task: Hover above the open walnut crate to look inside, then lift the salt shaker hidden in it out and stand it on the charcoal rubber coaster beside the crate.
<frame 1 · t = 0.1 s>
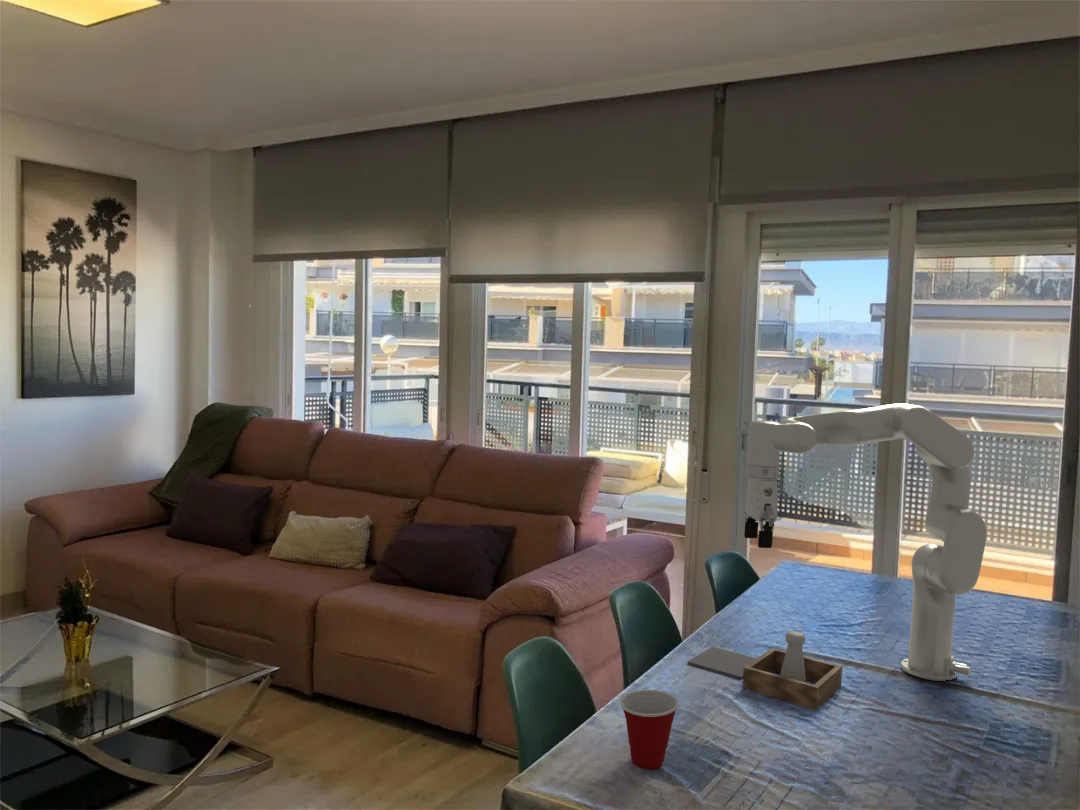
hand: (757, 542, 205), 31 cm above the table, tool pointing down, fingers open, 9 cm apart
coaster: (726, 663, 210), on the table
crate: (792, 687, 197), on the table
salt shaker: (792, 688, 197), resting in crate
plastic cup: (645, 763, 159), on the table
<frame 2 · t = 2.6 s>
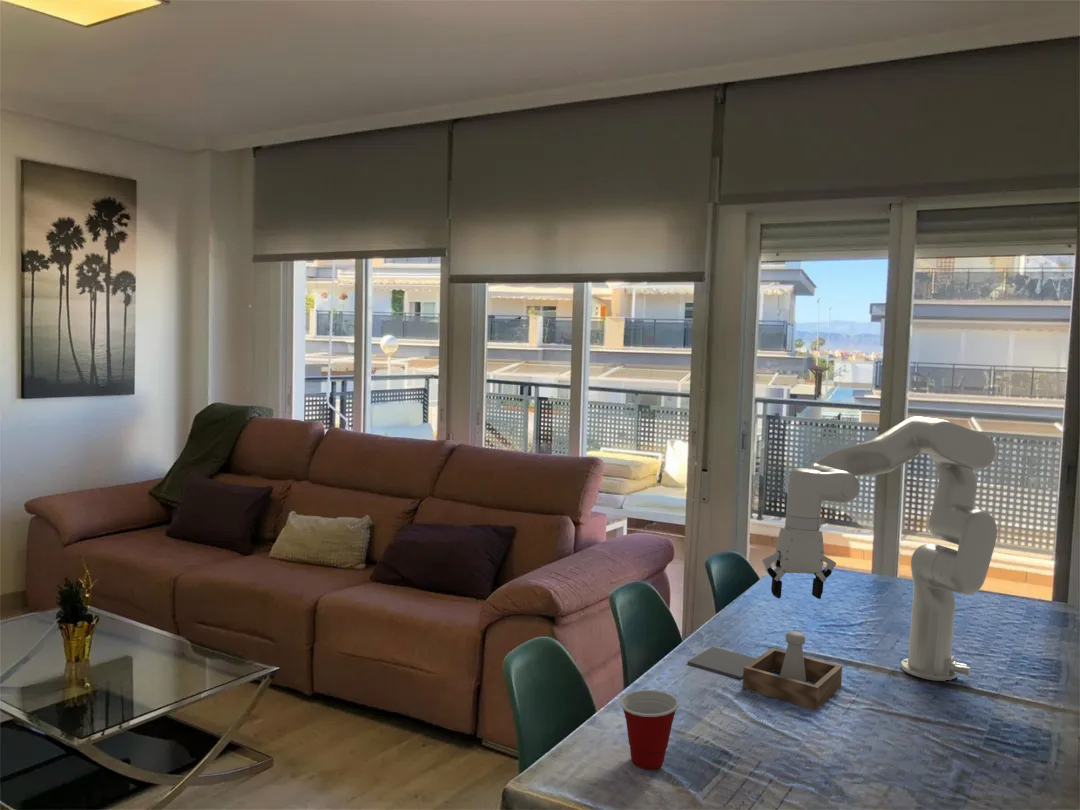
hand: (796, 596, 195), 21 cm above the table, tool pointing down, fingers open, 9 cm apart
nothing on the table moved.
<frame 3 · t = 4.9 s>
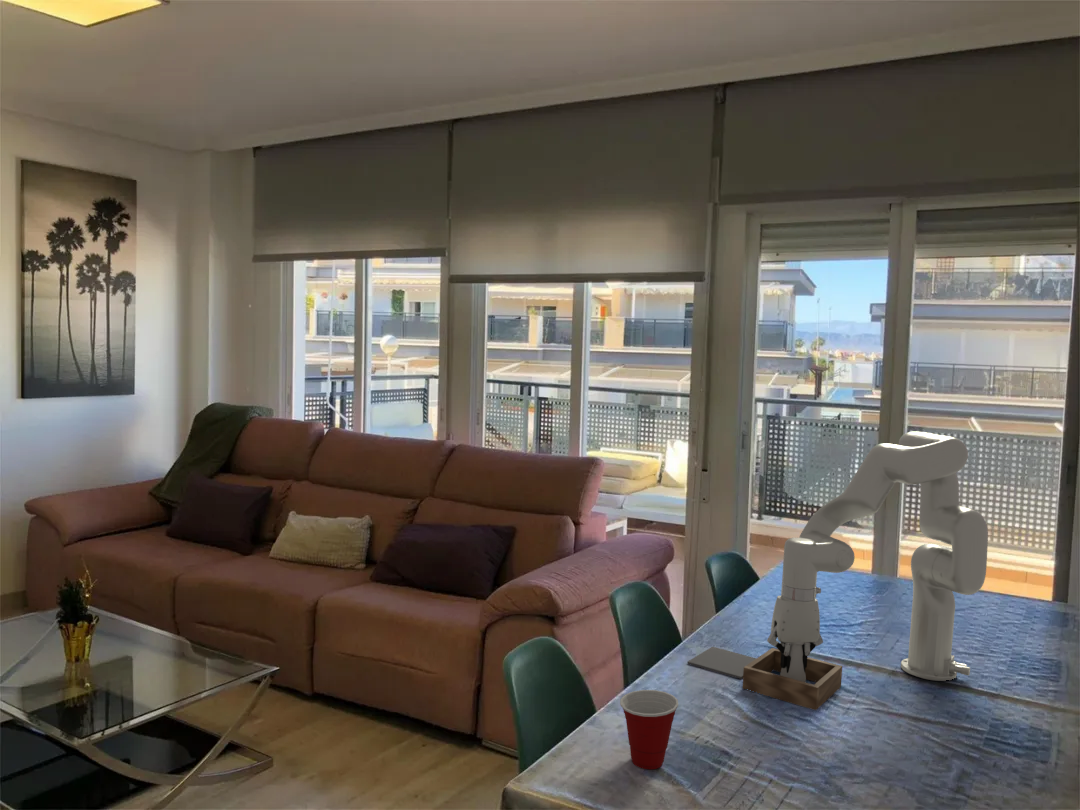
hand: (793, 670, 196), 4 cm above the table, tool pointing down, fingers closed on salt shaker, 3 cm apart
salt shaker: (792, 688, 197), resting in crate, touching gripper
everything else where it was.
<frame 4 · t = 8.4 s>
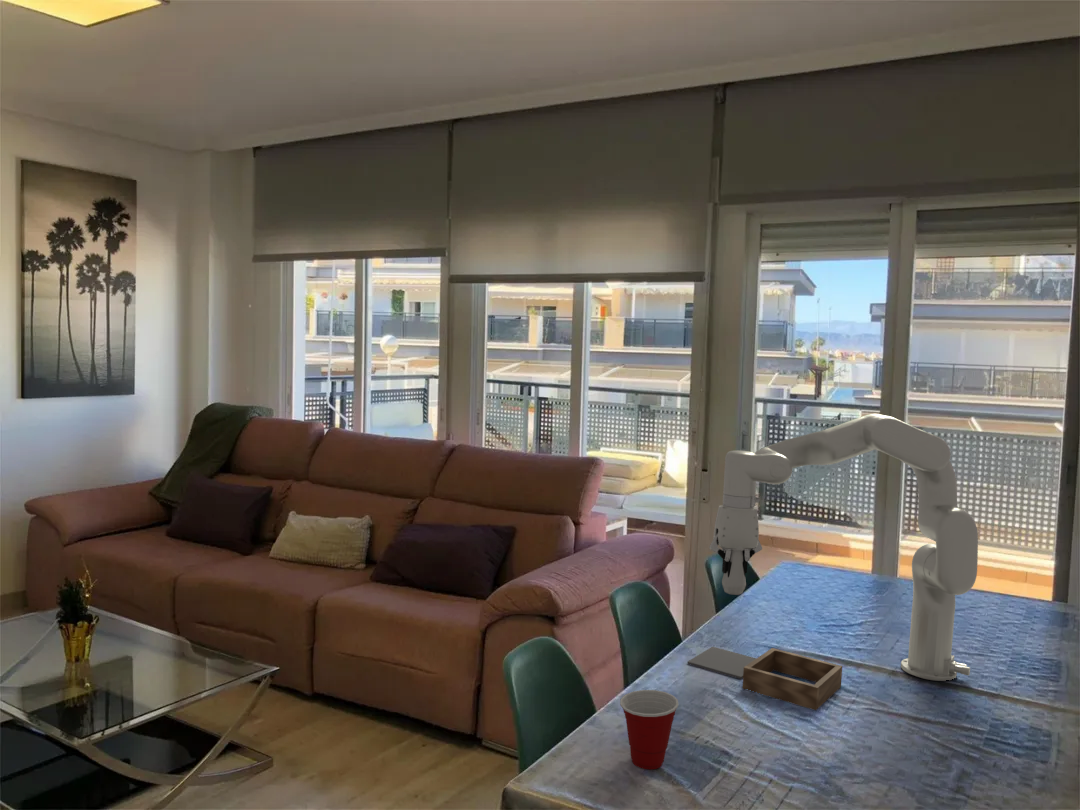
hand: (734, 575, 208), 22 cm above the table, tool pointing down, fingers closed on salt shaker, 3 cm apart
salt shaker: (733, 593, 208), point 18 cm above the table, touching gripper
everything else where it was.
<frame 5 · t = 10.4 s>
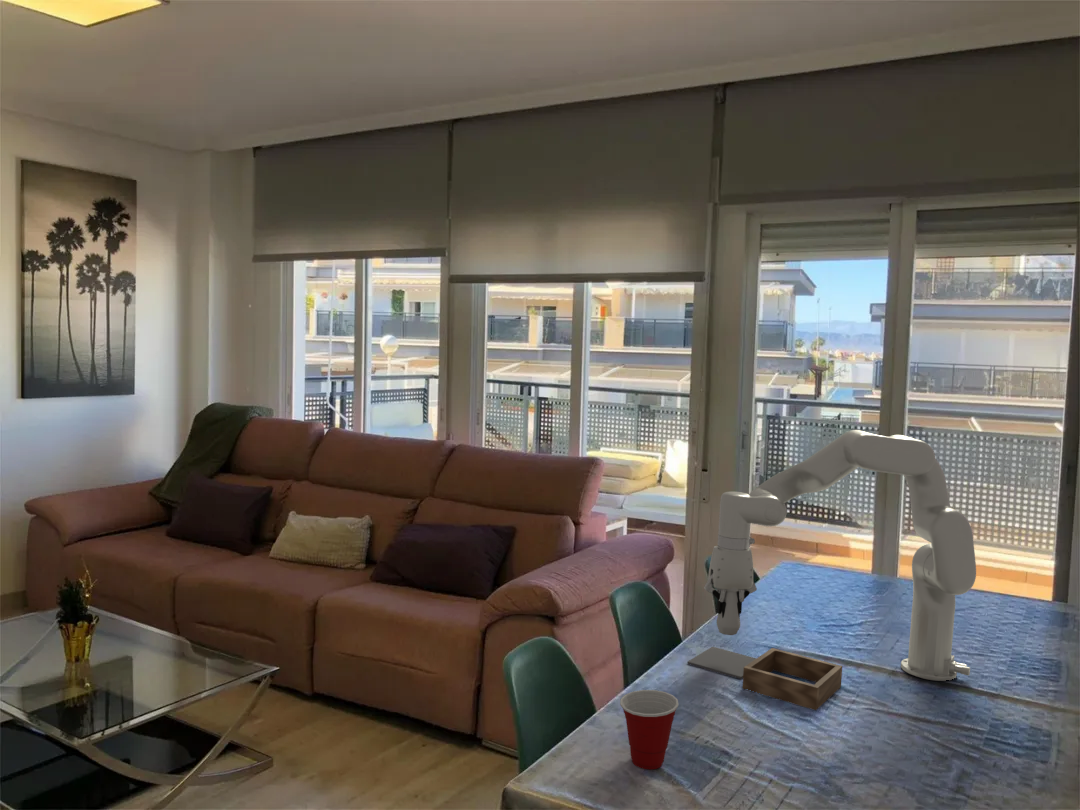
hand: (728, 615, 209), 12 cm above the table, tool pointing down, fingers closed on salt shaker, 3 cm apart
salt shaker: (727, 633, 210), point 8 cm above the table, touching gripper
everything else where it was.
when the fingers open (6 cm above the table, at t = 11.8 s): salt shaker drops 1 cm, resting on coaster.
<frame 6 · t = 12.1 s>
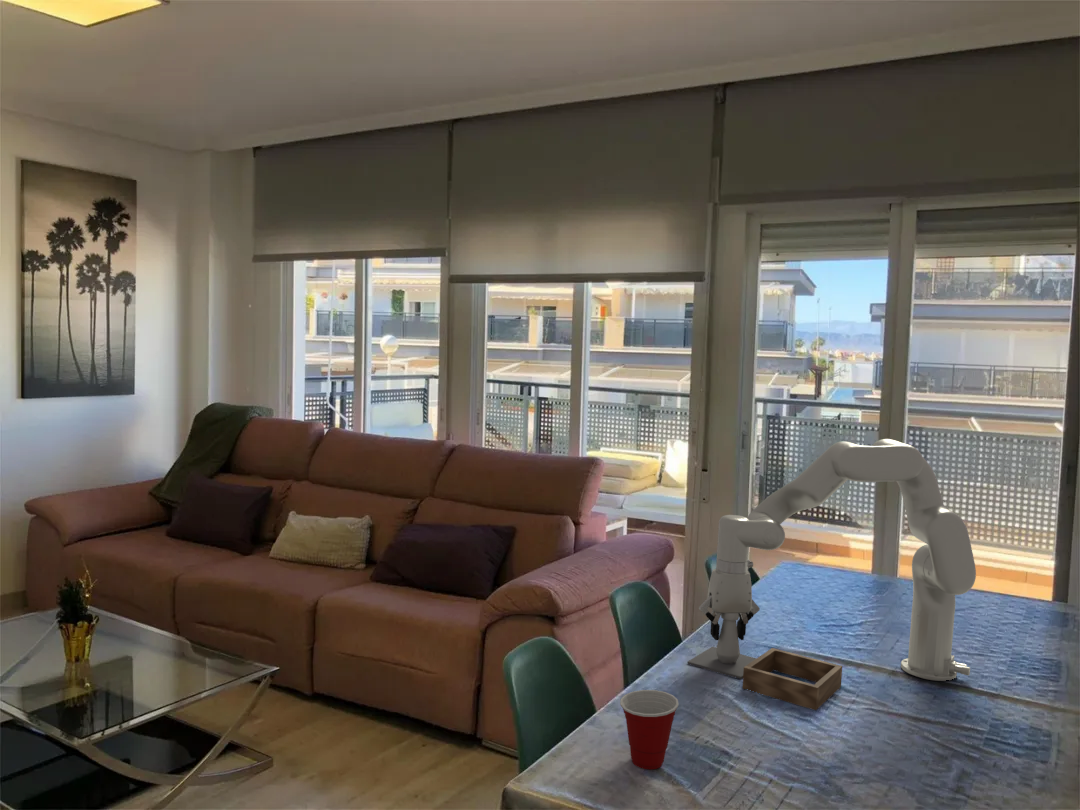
hand: (727, 637, 210), 7 cm above the table, tool pointing down, fingers open, 5 cm apart
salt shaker: (727, 661, 210), resting on coaster
everything else where it was.
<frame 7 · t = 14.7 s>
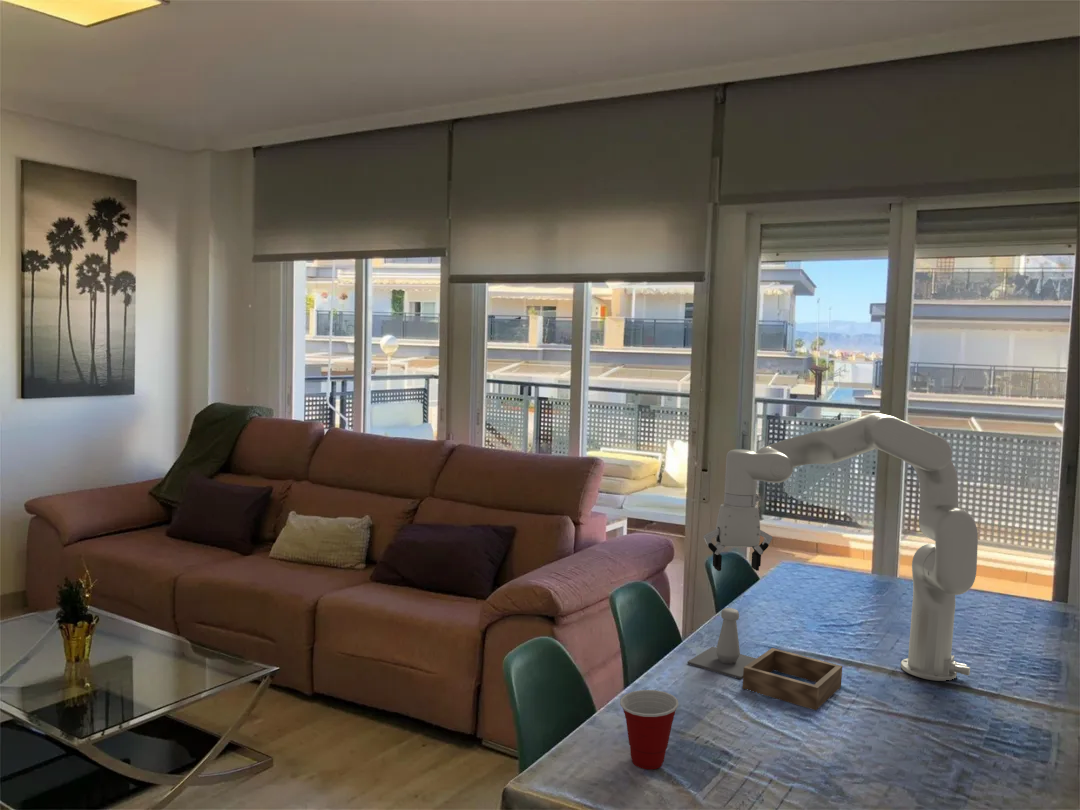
hand: (736, 569, 209), 23 cm above the table, tool pointing down, fingers open, 9 cm apart
nothing on the table moved.
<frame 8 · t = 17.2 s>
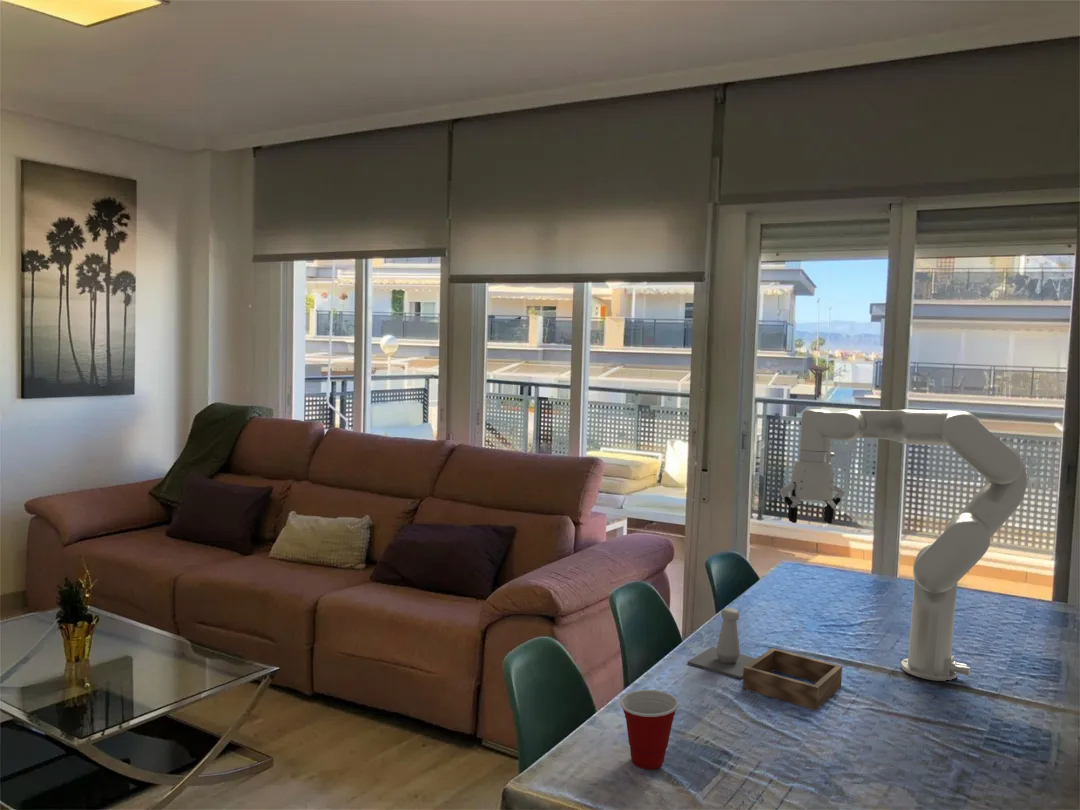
hand: (810, 522, 222), 33 cm above the table, tool pointing down, fingers open, 9 cm apart
nothing on the table moved.
at the end: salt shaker inside the target area on the coaster (0.3 cm from its centre), point 0.4 cm above the coaster's base; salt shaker tilted 0°; the gripper is holding nothing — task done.
